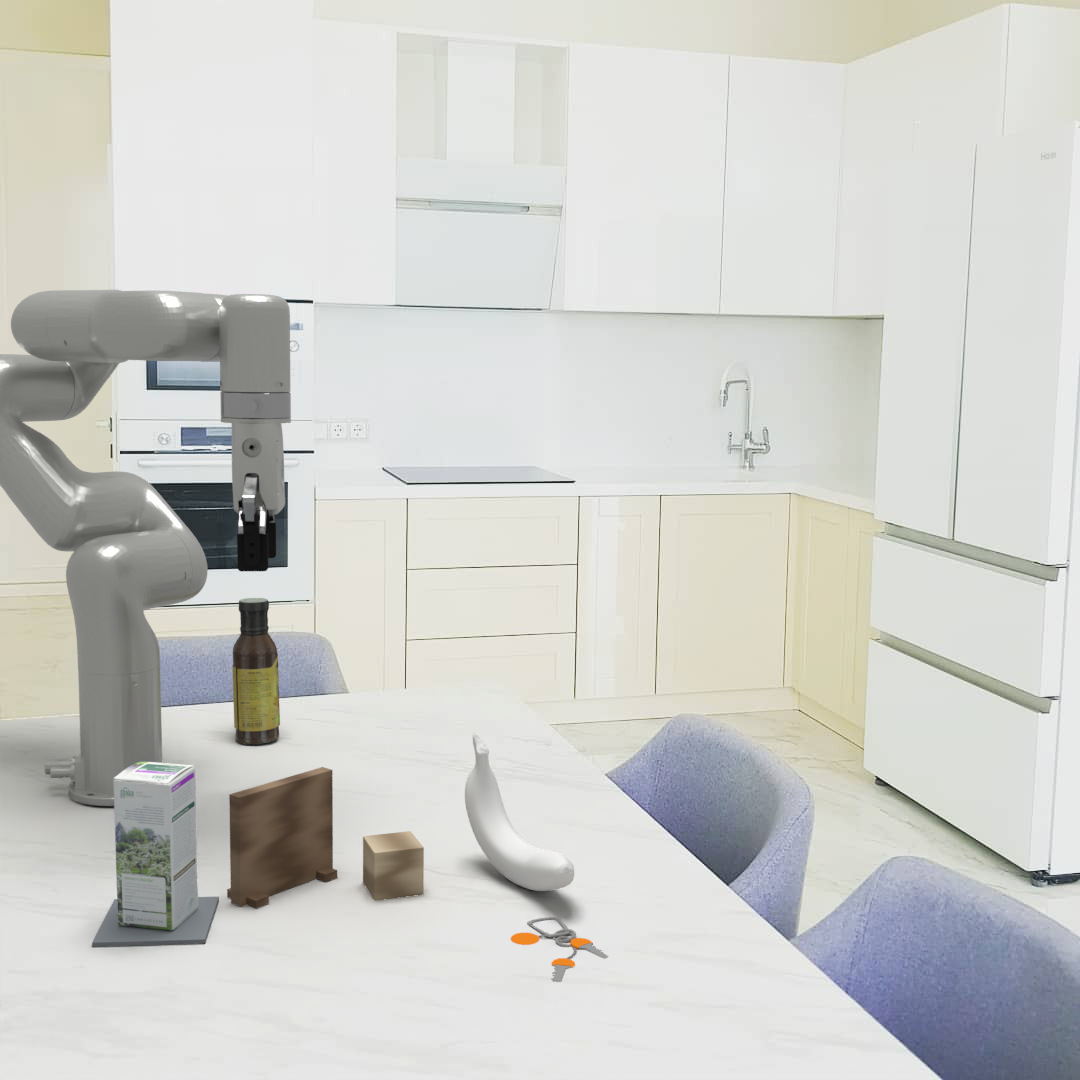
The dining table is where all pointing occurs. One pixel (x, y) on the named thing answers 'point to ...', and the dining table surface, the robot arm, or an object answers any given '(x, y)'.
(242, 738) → the sauce bottle
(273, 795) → the screen
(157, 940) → the mat
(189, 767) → the syrup box
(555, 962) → the key chain
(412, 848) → the oak cube
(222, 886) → the dining table surface
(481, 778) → the banana
